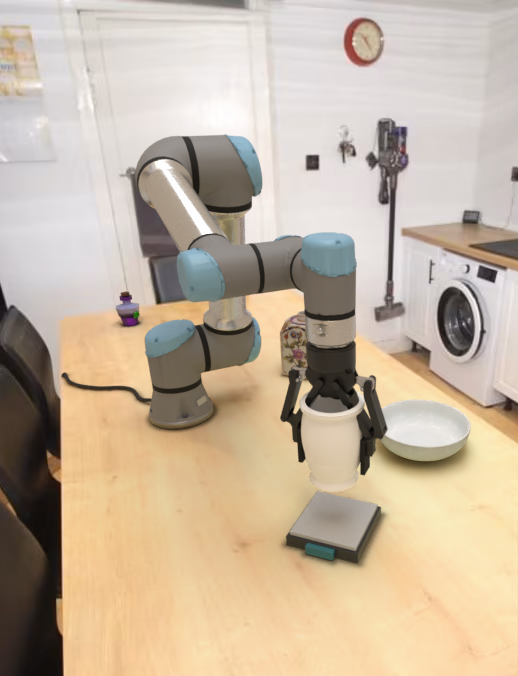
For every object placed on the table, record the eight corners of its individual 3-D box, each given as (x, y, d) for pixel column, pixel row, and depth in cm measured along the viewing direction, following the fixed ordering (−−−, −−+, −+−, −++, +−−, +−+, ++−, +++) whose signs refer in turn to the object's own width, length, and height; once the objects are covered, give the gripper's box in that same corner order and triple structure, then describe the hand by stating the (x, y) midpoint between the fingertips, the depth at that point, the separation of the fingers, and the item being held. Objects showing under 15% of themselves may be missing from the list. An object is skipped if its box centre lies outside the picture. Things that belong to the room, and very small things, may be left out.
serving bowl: (407, 485, 108) (408, 456, 105) (358, 437, 125) (358, 411, 122) (488, 457, 117) (491, 430, 114) (432, 416, 134) (433, 391, 131)
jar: (358, 501, 86) (357, 418, 80) (295, 493, 88) (290, 412, 81) (369, 464, 95) (370, 388, 89) (313, 458, 97) (309, 382, 91)
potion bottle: (138, 328, 194) (132, 295, 189) (114, 328, 194) (107, 295, 189) (146, 320, 202) (141, 288, 197) (123, 320, 202) (117, 288, 197)
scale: (283, 548, 92) (282, 536, 91) (316, 500, 104) (316, 488, 103) (355, 567, 88) (355, 554, 87) (380, 515, 100) (381, 503, 99)
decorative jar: (281, 375, 156) (277, 316, 149) (299, 360, 166) (296, 304, 158) (318, 382, 152) (316, 321, 145) (335, 366, 162) (333, 308, 154)
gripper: (251, 340, 81) (262, 463, 91) (397, 359, 74) (393, 491, 84) (274, 324, 88) (282, 441, 97) (411, 340, 81) (405, 465, 90)
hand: (333, 464), depth 90 cm, fingers closed on jar, 10 cm apart
